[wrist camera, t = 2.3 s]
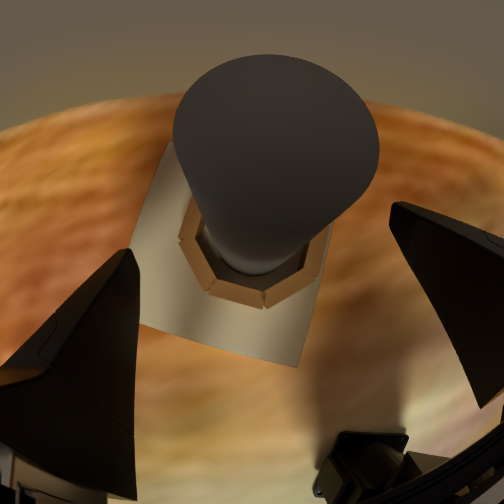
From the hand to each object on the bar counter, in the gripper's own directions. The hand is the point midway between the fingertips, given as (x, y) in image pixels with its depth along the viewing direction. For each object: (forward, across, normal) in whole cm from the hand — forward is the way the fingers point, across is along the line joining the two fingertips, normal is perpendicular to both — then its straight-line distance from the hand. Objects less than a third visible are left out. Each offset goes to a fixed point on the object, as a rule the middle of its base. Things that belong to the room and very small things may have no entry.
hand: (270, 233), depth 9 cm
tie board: (+8, +2, +6) cm, 10 cm away
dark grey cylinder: (+8, 0, +6) cm, 10 cm away
